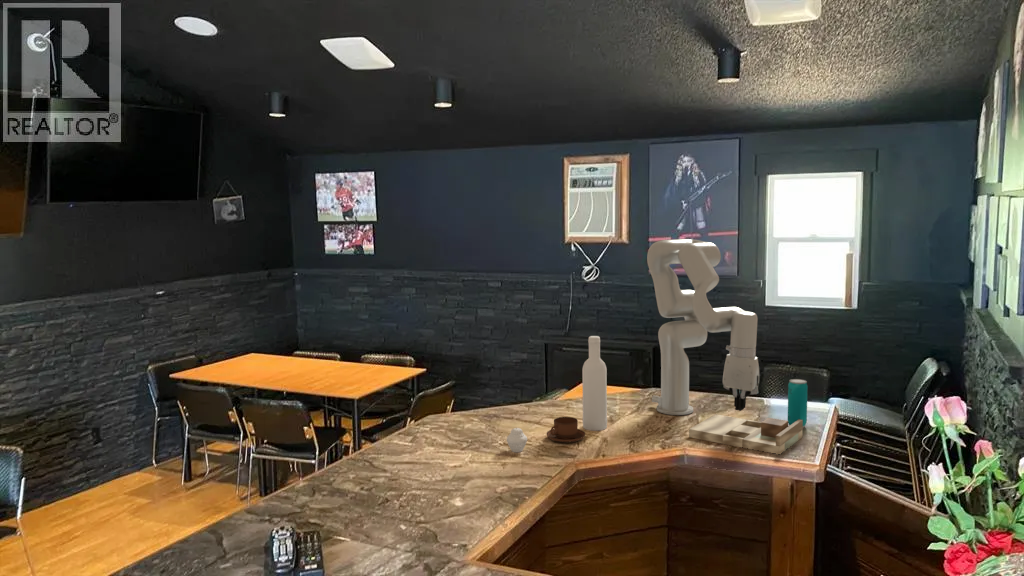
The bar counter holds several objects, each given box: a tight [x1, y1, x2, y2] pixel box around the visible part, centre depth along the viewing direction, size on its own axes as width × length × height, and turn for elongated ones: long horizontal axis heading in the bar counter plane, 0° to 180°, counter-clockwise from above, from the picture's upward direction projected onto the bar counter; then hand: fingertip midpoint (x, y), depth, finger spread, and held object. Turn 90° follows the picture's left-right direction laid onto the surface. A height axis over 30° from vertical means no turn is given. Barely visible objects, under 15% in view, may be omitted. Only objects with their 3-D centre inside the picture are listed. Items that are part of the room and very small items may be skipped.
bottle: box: [581, 335, 608, 432], centre depth 234 cm, size 8×8×30 cm
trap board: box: [688, 413, 804, 455], centre depth 222 cm, size 28×20×6 cm
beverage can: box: [787, 378, 809, 429], centre depth 231 cm, size 6×6×15 cm
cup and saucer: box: [546, 416, 586, 443], centre depth 224 cm, size 12×12×6 cm
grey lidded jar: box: [506, 427, 528, 453], centre depth 213 cm, size 6×6×7 cm
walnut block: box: [760, 417, 789, 438], centre depth 216 cm, size 6×6×4 cm
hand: (739, 409), depth 223 cm, fingers closed
